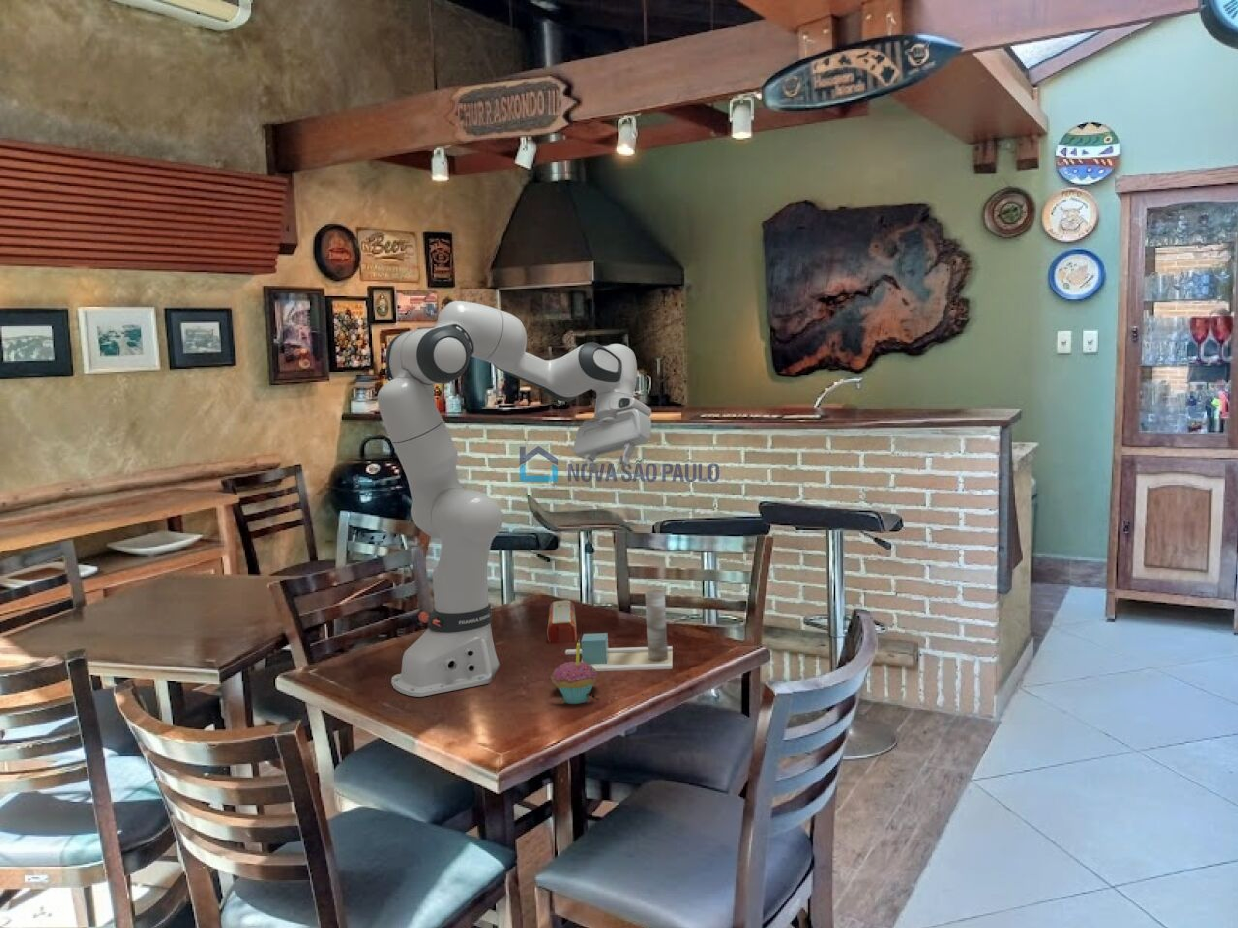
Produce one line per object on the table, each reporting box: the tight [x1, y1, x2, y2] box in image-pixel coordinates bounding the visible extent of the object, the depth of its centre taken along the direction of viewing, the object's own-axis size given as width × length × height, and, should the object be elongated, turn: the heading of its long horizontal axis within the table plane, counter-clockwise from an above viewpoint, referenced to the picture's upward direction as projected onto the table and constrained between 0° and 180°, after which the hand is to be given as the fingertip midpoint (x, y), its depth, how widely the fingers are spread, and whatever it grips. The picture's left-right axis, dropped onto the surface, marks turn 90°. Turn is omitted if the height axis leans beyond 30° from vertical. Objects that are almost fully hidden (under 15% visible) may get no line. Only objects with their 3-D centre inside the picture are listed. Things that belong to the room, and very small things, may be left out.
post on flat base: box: [580, 589, 674, 666], centre depth 188 cm, size 19×9×15 cm, turn 86°
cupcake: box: [550, 639, 598, 705], centre depth 171 cm, size 9×8×12 cm
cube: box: [581, 632, 609, 664], centre depth 189 cm, size 5×5×5 cm
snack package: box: [546, 599, 578, 644], centre depth 213 cm, size 21×7×7 cm, turn 3°
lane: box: [564, 645, 674, 672], centre depth 189 cm, size 23×13×2 cm, turn 86°
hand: (607, 468), depth 201 cm, fingers open, 8 cm apart
